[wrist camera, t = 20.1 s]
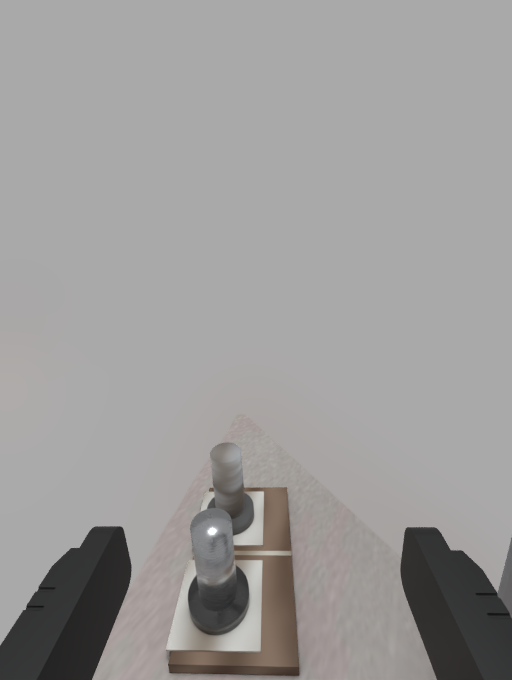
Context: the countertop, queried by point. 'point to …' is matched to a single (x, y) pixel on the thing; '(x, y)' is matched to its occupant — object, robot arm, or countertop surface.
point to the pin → (216, 575)
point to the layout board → (263, 579)
